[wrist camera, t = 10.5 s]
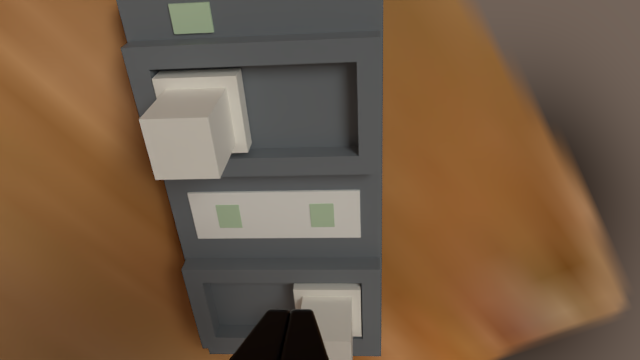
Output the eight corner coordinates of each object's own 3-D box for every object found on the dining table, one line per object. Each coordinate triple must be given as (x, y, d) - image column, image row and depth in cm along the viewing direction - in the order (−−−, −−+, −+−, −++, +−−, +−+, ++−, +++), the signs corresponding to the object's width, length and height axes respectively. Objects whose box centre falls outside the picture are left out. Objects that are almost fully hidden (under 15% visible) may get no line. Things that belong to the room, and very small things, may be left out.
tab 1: (251, 142, 19) (233, 189, 16) (177, 144, 20) (146, 190, 17) (240, 68, 18) (218, 104, 15) (159, 71, 18) (122, 107, 15)
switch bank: (380, 337, 26) (381, 369, 25) (215, 335, 27) (206, 366, 26) (381, -20, 17) (384, -9, 15) (130, -8, 18) (106, 5, 16)
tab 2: (361, 323, 24) (361, 382, 21) (300, 323, 24) (292, 381, 22) (360, 277, 23) (360, 334, 20) (295, 277, 23) (286, 334, 20)
